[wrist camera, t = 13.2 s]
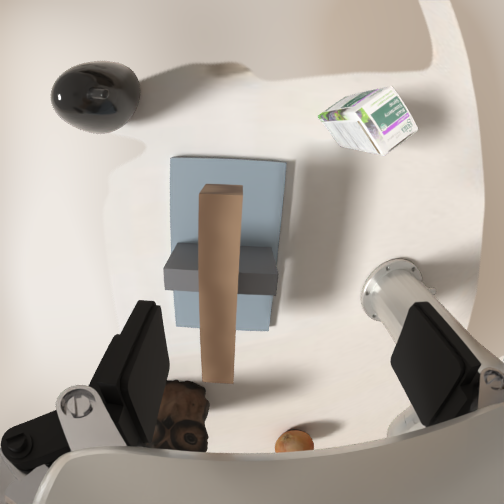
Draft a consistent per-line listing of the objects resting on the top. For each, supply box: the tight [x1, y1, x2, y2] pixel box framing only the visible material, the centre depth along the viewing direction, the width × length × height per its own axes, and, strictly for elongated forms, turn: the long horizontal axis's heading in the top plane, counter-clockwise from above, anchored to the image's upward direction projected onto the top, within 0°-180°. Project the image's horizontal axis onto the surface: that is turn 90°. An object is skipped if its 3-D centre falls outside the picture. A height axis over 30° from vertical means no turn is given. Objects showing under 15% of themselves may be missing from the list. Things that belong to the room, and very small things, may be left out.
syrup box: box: [318, 86, 419, 156], centre depth 31 cm, size 6×6×14 cm
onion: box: [275, 430, 314, 453], centre depth 61 cm, size 10×10×10 cm
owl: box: [146, 380, 209, 452], centre depth 48 cm, size 13×13×20 cm
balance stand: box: [163, 157, 287, 331], centre depth 41 cm, size 16×28×10 cm, turn 176°
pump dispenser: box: [51, 61, 140, 134], centre depth 28 cm, size 10×10×15 cm
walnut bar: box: [198, 184, 243, 384], centre depth 33 cm, size 4×24×6 cm, turn 176°
